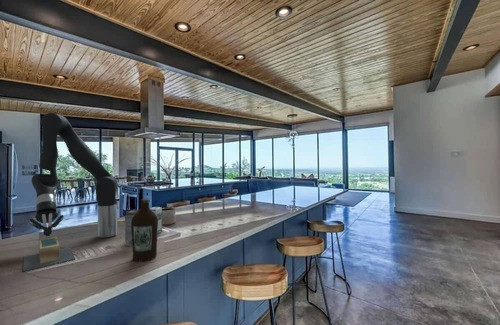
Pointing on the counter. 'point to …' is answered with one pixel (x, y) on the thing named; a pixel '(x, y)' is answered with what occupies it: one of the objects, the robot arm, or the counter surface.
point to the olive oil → (144, 233)
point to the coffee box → (129, 227)
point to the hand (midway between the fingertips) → (47, 235)
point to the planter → (168, 216)
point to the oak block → (48, 249)
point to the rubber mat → (34, 262)
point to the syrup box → (159, 215)
